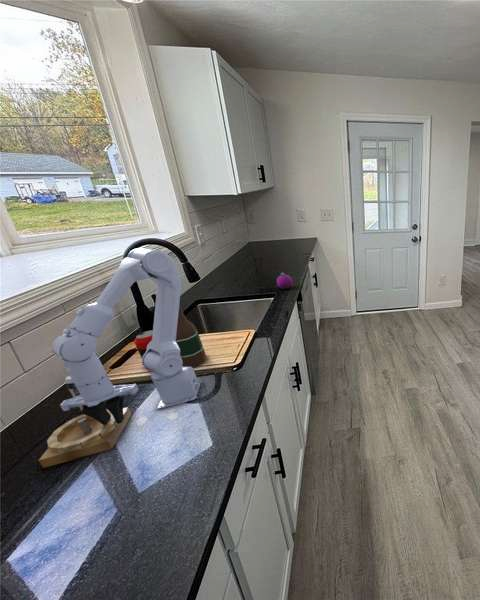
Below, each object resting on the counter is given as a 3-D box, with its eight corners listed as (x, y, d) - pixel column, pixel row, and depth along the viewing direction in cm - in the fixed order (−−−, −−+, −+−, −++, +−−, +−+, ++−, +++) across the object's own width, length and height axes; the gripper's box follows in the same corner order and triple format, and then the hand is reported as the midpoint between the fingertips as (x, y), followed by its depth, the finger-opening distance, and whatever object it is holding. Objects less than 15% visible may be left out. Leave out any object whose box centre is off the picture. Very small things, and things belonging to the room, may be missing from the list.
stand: (132, 413, 88) (123, 396, 85) (112, 448, 76) (101, 430, 74) (73, 429, 83) (62, 411, 81) (43, 468, 72) (30, 449, 70)
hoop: (129, 406, 87) (126, 401, 86) (108, 441, 75) (105, 436, 75) (69, 421, 83) (66, 417, 82) (37, 460, 71) (33, 455, 71)
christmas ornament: (291, 285, 182) (287, 268, 178) (295, 288, 175) (291, 271, 171) (276, 288, 178) (272, 271, 174) (280, 292, 171) (276, 275, 167)
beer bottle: (198, 368, 107) (174, 304, 98) (176, 369, 107) (150, 305, 98) (211, 355, 114) (190, 294, 105) (190, 356, 114) (168, 296, 105)
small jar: (91, 416, 88) (71, 381, 83) (78, 414, 89) (58, 379, 84) (109, 404, 92) (91, 370, 87) (96, 402, 93) (78, 369, 88)
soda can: (158, 357, 115) (146, 328, 111) (177, 358, 114) (165, 329, 109) (140, 369, 108) (126, 339, 104) (159, 370, 107) (146, 340, 103)
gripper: (42, 398, 70) (71, 443, 75) (121, 380, 74) (142, 423, 79) (60, 380, 76) (85, 423, 81) (132, 364, 80) (151, 406, 86)
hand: (114, 422), depth 81 cm, fingers closed
